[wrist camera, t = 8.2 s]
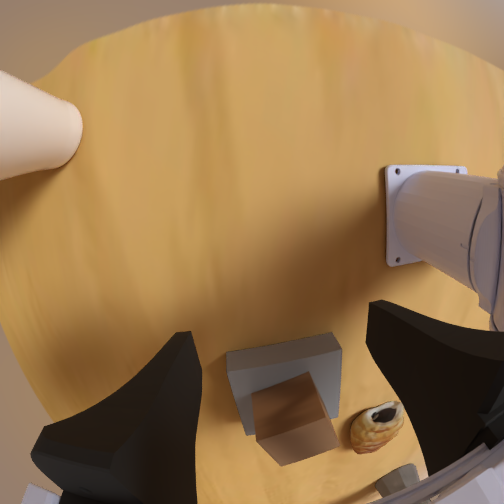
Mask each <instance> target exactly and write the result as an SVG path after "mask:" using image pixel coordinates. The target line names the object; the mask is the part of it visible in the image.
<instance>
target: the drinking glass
mask: <svg viewBox="0 0 504 504" xmlns="http://www.w3.org/2000/svg"><path fill="white" fill-rule="evenodd" d="M82 131H83V123H82V118H81V115H80V112H79V110H78V109H77V108H76V107H75V106H74V105H73V104H72V103H70V102H68V101H65V100H62V99H59V98H57V97H55V96H53V95H51V94H49V93H47V92H45V91H43V90H41V89H39V88H37V87H35V86H33V85H31V84H29V83H26V82H25V81H22V80H20V79H18V78H16V77H14V76H12V75H10V74H8V73H6V72H4V71H2V70H0V181H1V180H4V179H8V178H11V177H15V176H19V175H23V174H27V173H31V172H35V171H40V170H49V169H55V168H58V167H60V166H62V165H64V164H65V163H66V162H68V161H69V160H70V159H71V157H72V156H73V155H74V153H75V152H76V150H77V148H78V146H79V144H80V141H81V137H82Z"/></svg>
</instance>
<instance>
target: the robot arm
mask: <svg viewBox="0 0 504 504" xmlns="http://www.w3.org/2000/svg"><path fill="white" fill-rule="evenodd" d="M396 169H397V170H398V173H397V174H396V173H395V170H396ZM456 171H457V173H456ZM497 175H498V179H494V178H488V177H481V176H474V175H467V169H466V167H464V166H446V165H388V166H387V167H386V168H385V181H386V205H387V250H386V263H387V265H389V266H391V267H394V266H399V265H404V264H409V263H414V262H419V261H425V262H426V263H428V264H430V265H432V266H433V267H435V268H437V269H438V270H440V271H442V272H444V273H445V274H447V275H449V276H450V277H452V278H454V279H455V280H457V281H459V282H460V283H462V284H463V285H465V286H467V287H468V288H470V289H471V290H473V291H475V292H476V293H478V296H479V307H481V308H482V309H484V310H485V311H486V312H488V313H489V314H491V315H490V320H489V329H490V331H485V330H477V329H471V328H465V327H461V326H457V325H452V324H449V323H445V322H442V321H439V320H436V319H433V318H430V317H427V316H425V315H422V314H419V313H417V312H414V311H412V310H409V309H407V308H404V307H402V306H399V305H397V304H394V303H391V302H388V301H385V300H378V301H374V302H369V312H368V323H367V334H366V345H367V347H368V349H369V351H370V353H371V355H372V357H373V359H374V361H375V363H376V364H377V366H378V367H379V369H380V370H381V372H382V373H383V375H384V376H385V378H386V379H387V381H388V382H389V384H390V385H391V387H392V388H393V390H394V391H395V393H396V394H397V396H398V397H399V399H400V401H401V402H402V404H403V406H404V408H405V410H406V412H407V414H408V417H409V419H410V421H411V423H412V426H413V428H414V431H415V433H416V436H417V438H418V441H419V444H420V447H421V450H422V453H423V456H424V460H425V464H426V467H427V471H428V476H429V477H428V478H426V479H424V480H422V481H420V482H418V483H416V484H414V485H412V486H409V487H407V488H405V489H403V490H401V491H398V492H396V493H394V494H391V495H389V496H386V497H384V498H381V499H379V500H376V501H373V502H370V503H368V504H421V503H423V502H425V501H427V500H429V499H430V498H432V497H434V496H436V495H438V494H439V493H440V495H439V496H438V498H436V499H435V500H433V501H431V502H429V503H427V504H504V166H503V167H502V169H500V170H499V171H498V173H497ZM397 257H398V260H397V261H396V258H397ZM201 396H202V368H201V365H200V361H199V358H198V355H197V351H196V347H195V344H194V340H193V337H192V333H191V331H187V332H176V333H175V334H174V335H173V336H172V337H171V339H170V340H169V341H168V342H167V343H166V344H165V345H164V346H163V348H162V349H161V350H160V351H159V352H158V353H157V354H156V355H155V356H154V358H153V359H152V360H151V361H150V362H149V363H148V364H147V365H146V366H145V367H144V368H143V369H142V370H141V371H140V372H139V373H138V374H137V375H135V376H134V377H133V378H132V379H131V380H130V381H129V382H127V383H126V384H125V385H124V386H122V387H121V388H120V389H119V390H117V391H116V392H114V393H113V394H112V395H110V396H108V397H107V398H105V399H104V400H102V401H101V402H99V403H97V404H96V405H94V406H92V407H90V408H89V409H87V410H85V411H83V412H81V413H78V414H76V415H74V416H72V417H70V418H67V419H64V420H62V421H59V422H56V423H53V424H50V425H47V426H44V428H43V430H42V432H41V433H40V436H39V437H38V439H37V441H36V443H35V445H34V447H33V449H32V451H31V458H32V461H33V462H34V463H35V465H36V466H37V467H38V468H39V469H40V470H41V471H42V472H43V473H44V474H45V475H46V476H47V477H48V478H49V479H51V480H52V481H53V482H54V483H55V484H56V485H57V486H59V487H60V488H61V489H62V490H63V493H62V496H59V495H57V494H56V493H54V492H52V491H49V490H47V489H44V488H42V487H40V486H37V485H35V484H33V483H29V484H28V487H27V489H26V492H25V494H24V497H23V500H22V502H21V504H197V491H196V472H195V442H196V432H197V424H198V417H199V410H200V403H201ZM441 492H442V493H441Z"/></svg>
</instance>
